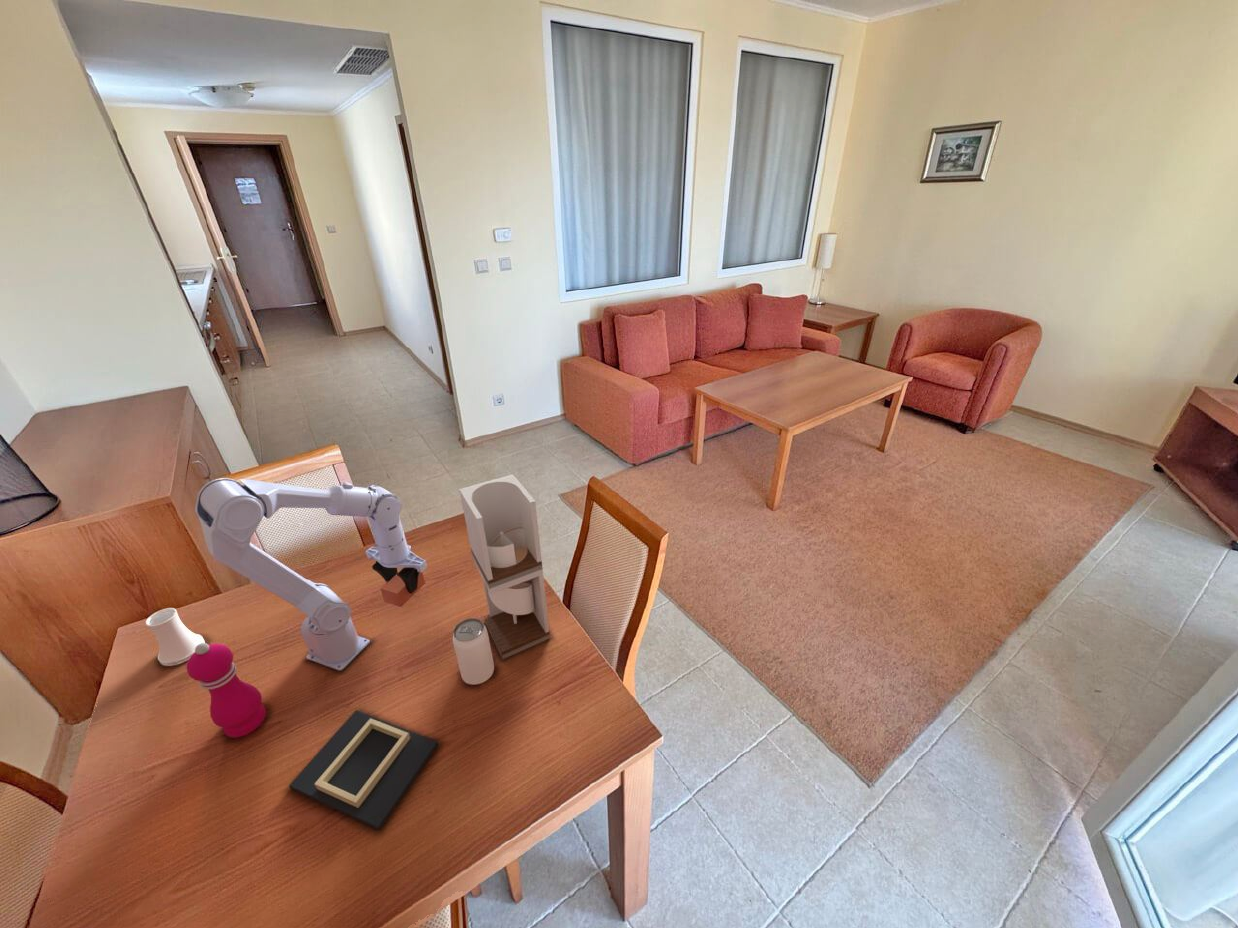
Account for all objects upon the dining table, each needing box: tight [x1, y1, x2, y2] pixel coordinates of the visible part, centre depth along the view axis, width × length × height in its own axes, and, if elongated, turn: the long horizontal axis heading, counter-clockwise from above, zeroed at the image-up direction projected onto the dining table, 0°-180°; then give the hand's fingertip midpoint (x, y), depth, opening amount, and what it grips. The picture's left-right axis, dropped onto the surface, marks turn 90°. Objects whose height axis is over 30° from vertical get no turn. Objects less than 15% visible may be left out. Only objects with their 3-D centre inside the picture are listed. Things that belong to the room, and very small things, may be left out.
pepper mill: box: [186, 642, 267, 739], centre depth 85 cm, size 7×7×20 cm
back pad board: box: [288, 709, 439, 831], centre depth 82 cm, size 18×14×2 cm
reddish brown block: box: [380, 571, 426, 608], centre depth 111 cm, size 5×8×4 cm, turn 160°
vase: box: [145, 607, 206, 667], centre depth 102 cm, size 8×8×10 cm
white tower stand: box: [458, 474, 551, 660], centre depth 100 cm, size 11×11×35 cm
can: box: [452, 617, 495, 686], centre depth 96 cm, size 6×6×12 cm
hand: (404, 587), depth 112 cm, fingers closed on reddish brown block, 4 cm apart
